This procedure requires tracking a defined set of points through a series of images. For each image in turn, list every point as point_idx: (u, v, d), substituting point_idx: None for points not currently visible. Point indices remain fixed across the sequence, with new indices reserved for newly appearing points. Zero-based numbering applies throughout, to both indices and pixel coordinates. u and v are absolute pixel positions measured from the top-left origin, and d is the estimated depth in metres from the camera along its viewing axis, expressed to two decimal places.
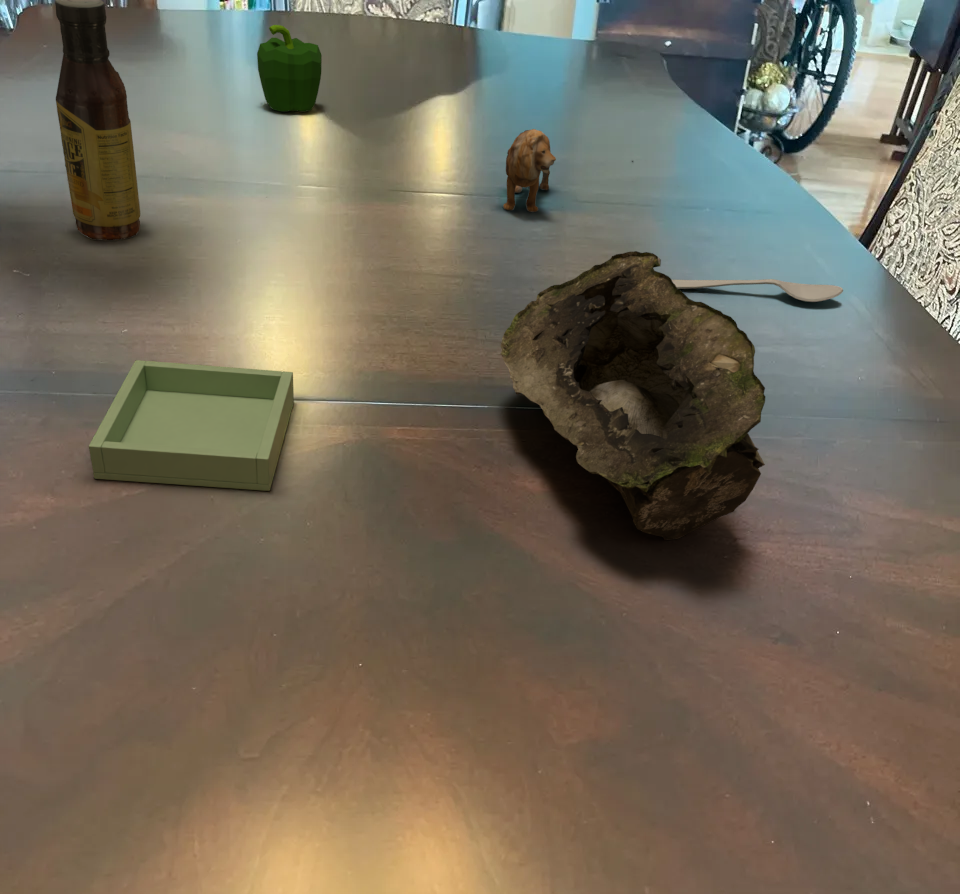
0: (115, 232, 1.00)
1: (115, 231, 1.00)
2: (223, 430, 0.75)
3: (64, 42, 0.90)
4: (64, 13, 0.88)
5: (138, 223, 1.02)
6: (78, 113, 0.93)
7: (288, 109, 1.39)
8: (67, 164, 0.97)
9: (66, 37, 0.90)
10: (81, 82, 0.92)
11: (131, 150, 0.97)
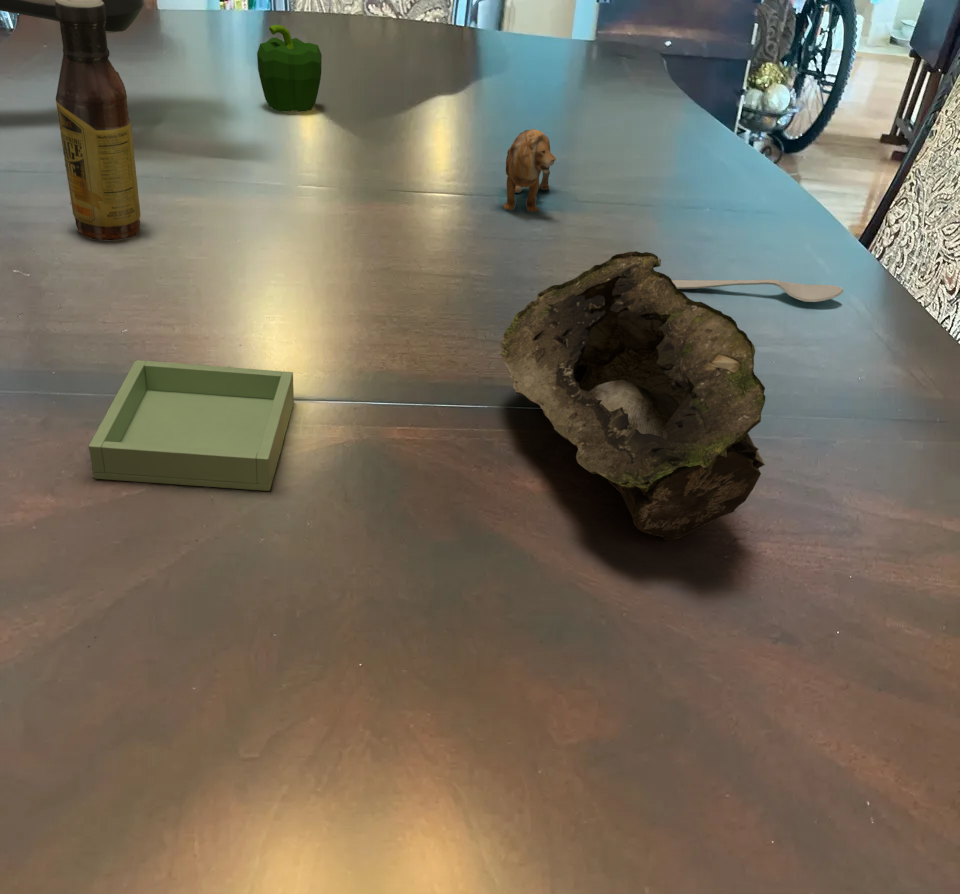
0: (115, 232, 1.00)
1: (115, 231, 1.00)
2: (223, 430, 0.75)
3: (64, 42, 0.90)
4: (64, 13, 0.88)
5: (138, 223, 1.02)
6: (78, 113, 0.93)
7: (288, 109, 1.39)
8: (67, 164, 0.97)
9: (66, 37, 0.90)
10: (81, 82, 0.92)
11: (131, 150, 0.97)
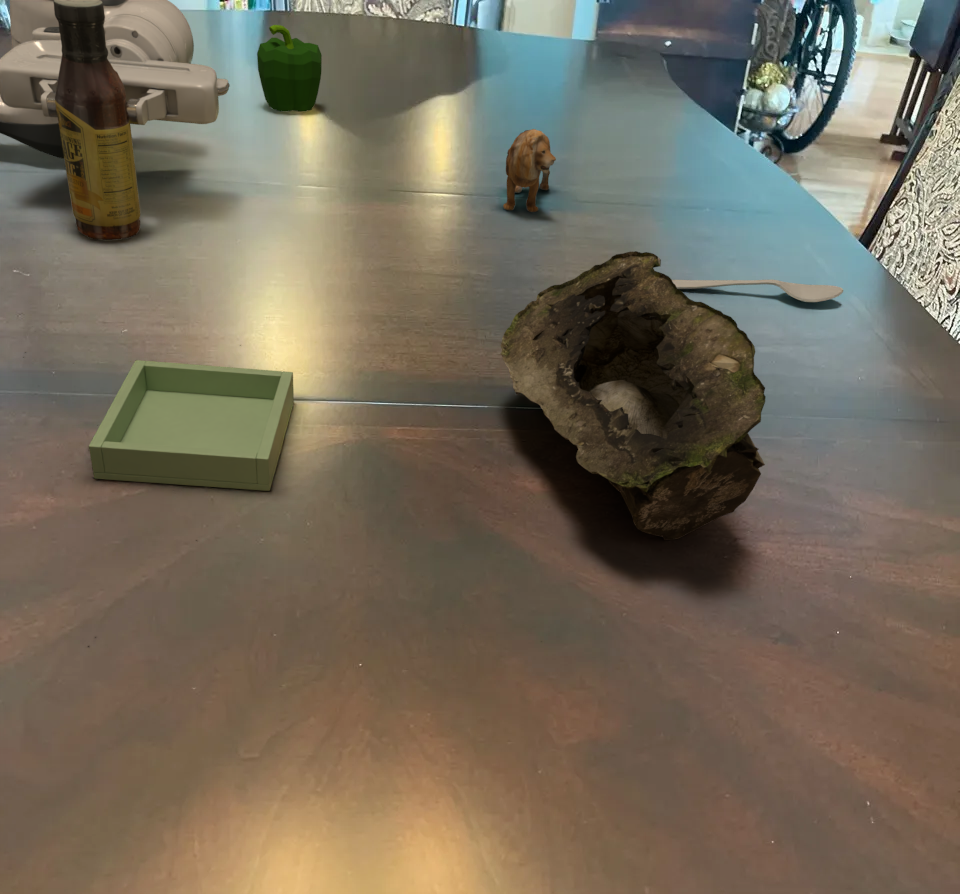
0: (116, 232, 1.00)
1: (115, 231, 1.00)
2: (223, 430, 0.75)
3: (63, 42, 0.90)
4: (62, 12, 0.88)
5: (138, 223, 1.02)
6: (78, 113, 0.93)
7: (288, 109, 1.39)
8: (67, 164, 0.97)
9: (65, 37, 0.90)
10: (80, 81, 0.92)
11: (131, 149, 0.97)
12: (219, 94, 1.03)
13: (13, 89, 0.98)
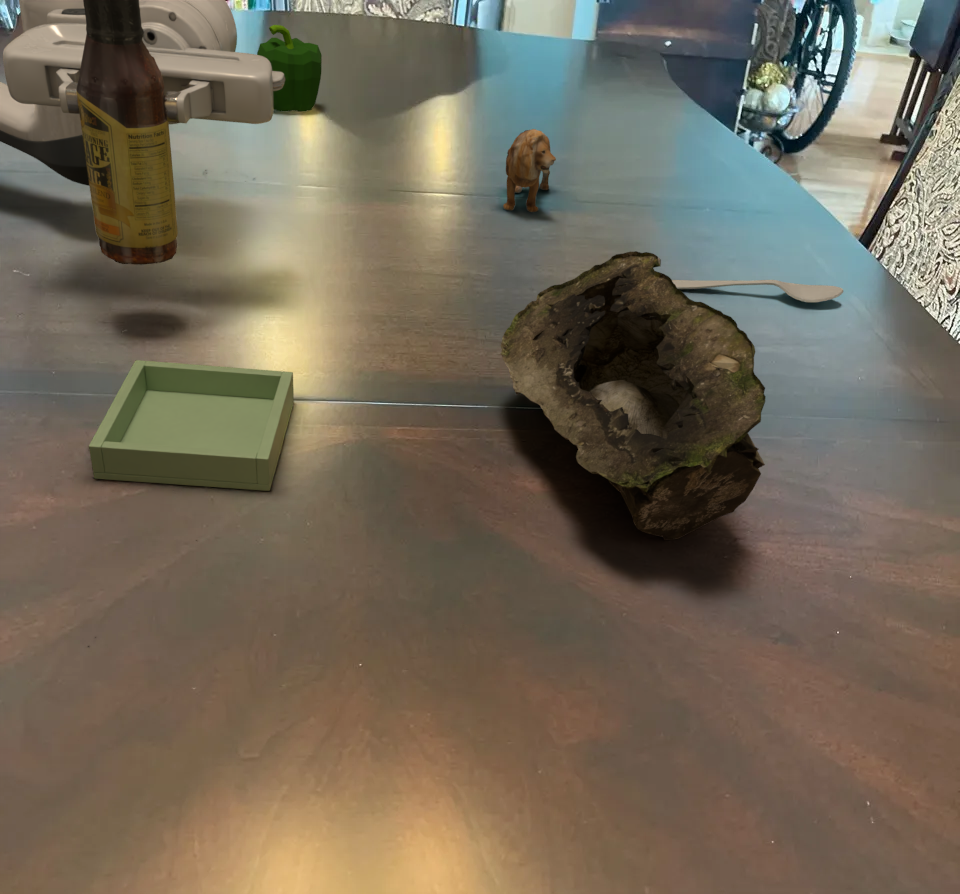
0: (148, 254, 0.81)
1: (148, 253, 0.81)
2: (223, 430, 0.75)
3: (88, 18, 0.72)
4: None
5: (175, 244, 0.84)
6: (105, 107, 0.74)
7: (288, 109, 1.39)
8: (90, 171, 0.78)
9: (91, 11, 0.72)
10: (109, 67, 0.73)
11: (168, 154, 0.79)
12: (274, 89, 0.85)
13: (24, 81, 0.80)
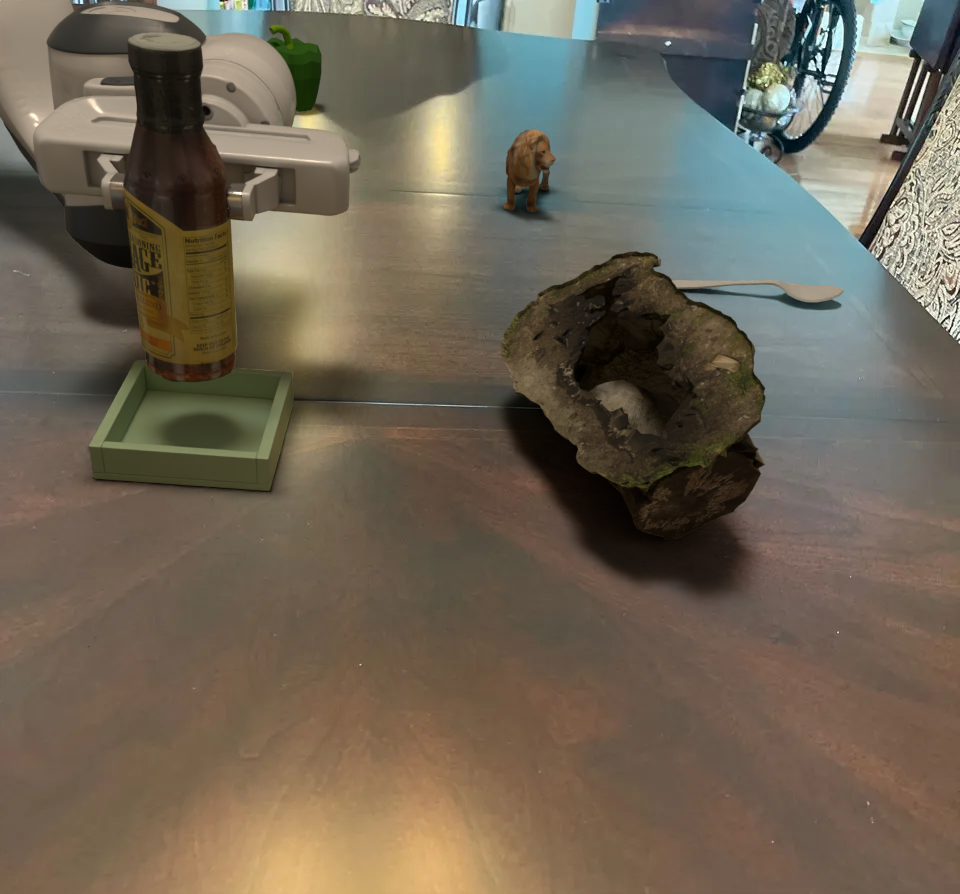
0: (204, 371, 0.69)
1: (203, 370, 0.69)
2: (223, 430, 0.75)
3: (140, 103, 0.60)
4: (142, 59, 0.58)
5: (234, 355, 0.71)
6: (158, 207, 0.62)
7: None
8: (137, 278, 0.66)
9: (143, 95, 0.59)
10: (164, 161, 0.61)
11: (230, 256, 0.66)
12: (349, 171, 0.72)
13: (58, 168, 0.67)
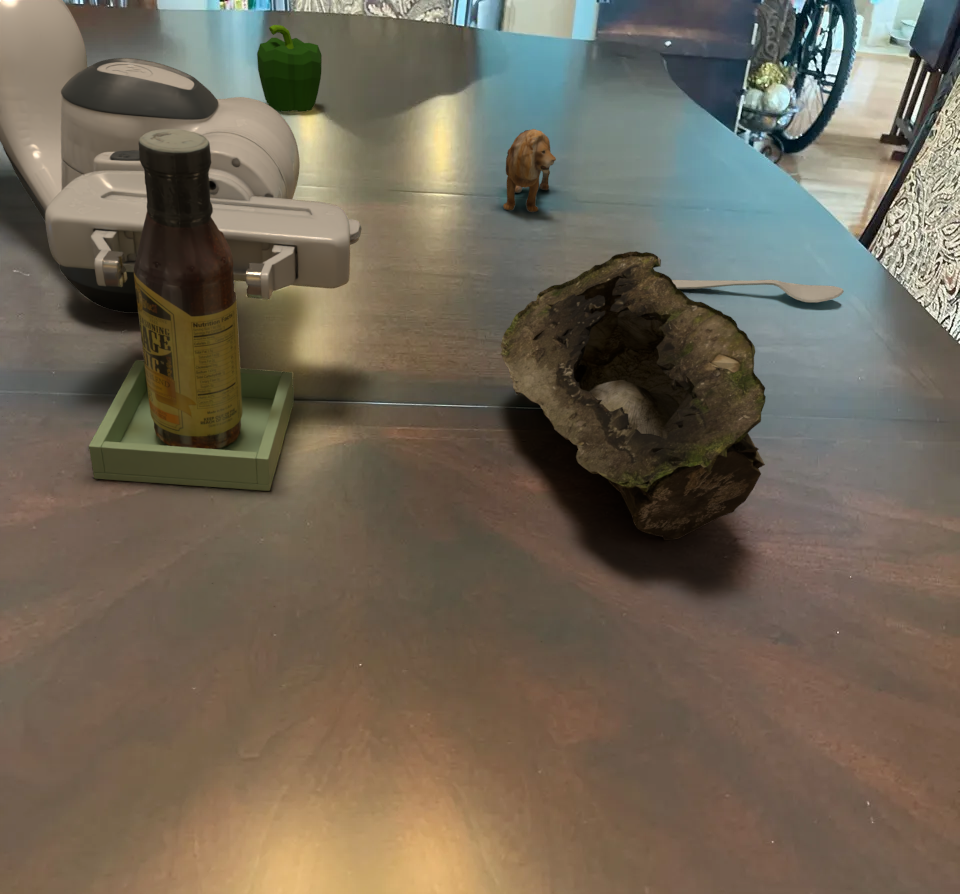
0: (210, 442, 0.72)
1: (210, 441, 0.72)
2: None
3: (150, 198, 0.62)
4: (153, 160, 0.60)
5: (239, 424, 0.74)
6: (168, 295, 0.64)
7: (288, 109, 1.39)
8: (147, 356, 0.68)
9: (154, 191, 0.62)
10: (174, 252, 0.63)
11: (236, 334, 0.69)
12: (350, 243, 0.75)
13: (69, 244, 0.70)
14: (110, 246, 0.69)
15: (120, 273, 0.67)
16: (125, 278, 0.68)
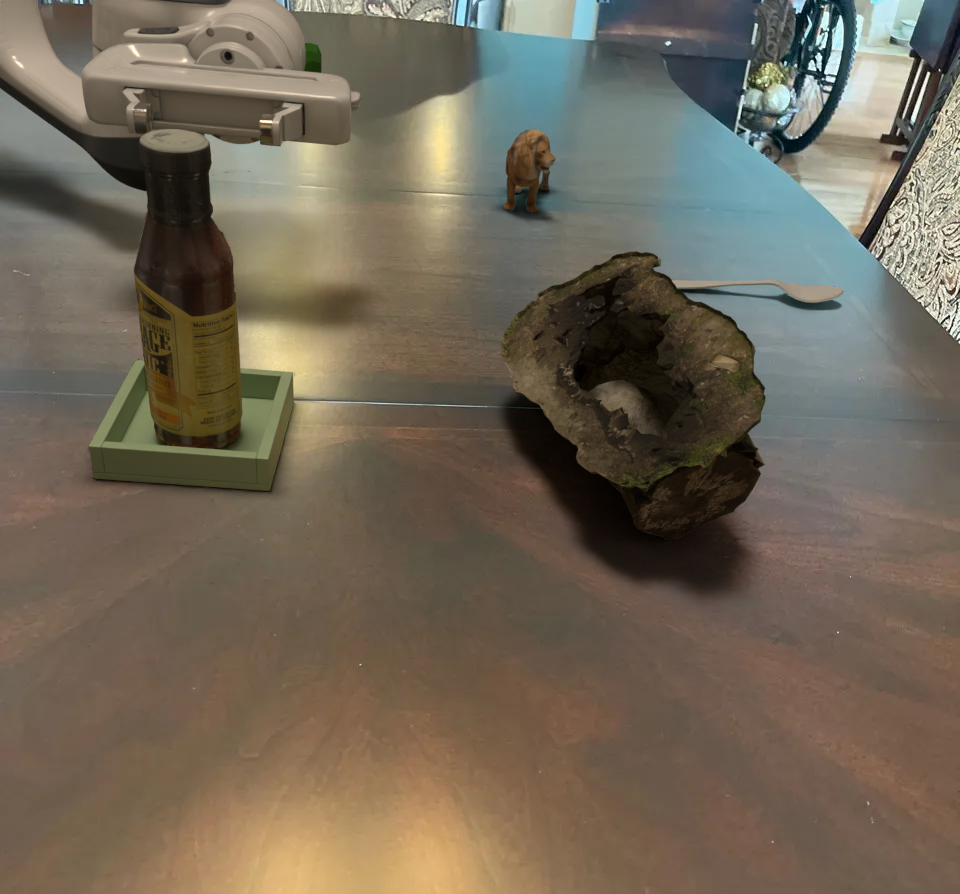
0: (211, 442, 0.72)
1: (210, 441, 0.72)
2: None
3: (150, 198, 0.62)
4: (153, 160, 0.60)
5: (239, 424, 0.74)
6: (168, 295, 0.64)
7: None
8: (147, 356, 0.68)
9: (154, 192, 0.62)
10: (174, 252, 0.63)
11: (236, 335, 0.69)
12: (351, 109, 0.84)
13: (102, 101, 0.79)
14: (139, 101, 0.78)
15: (148, 121, 0.76)
16: (152, 128, 0.77)
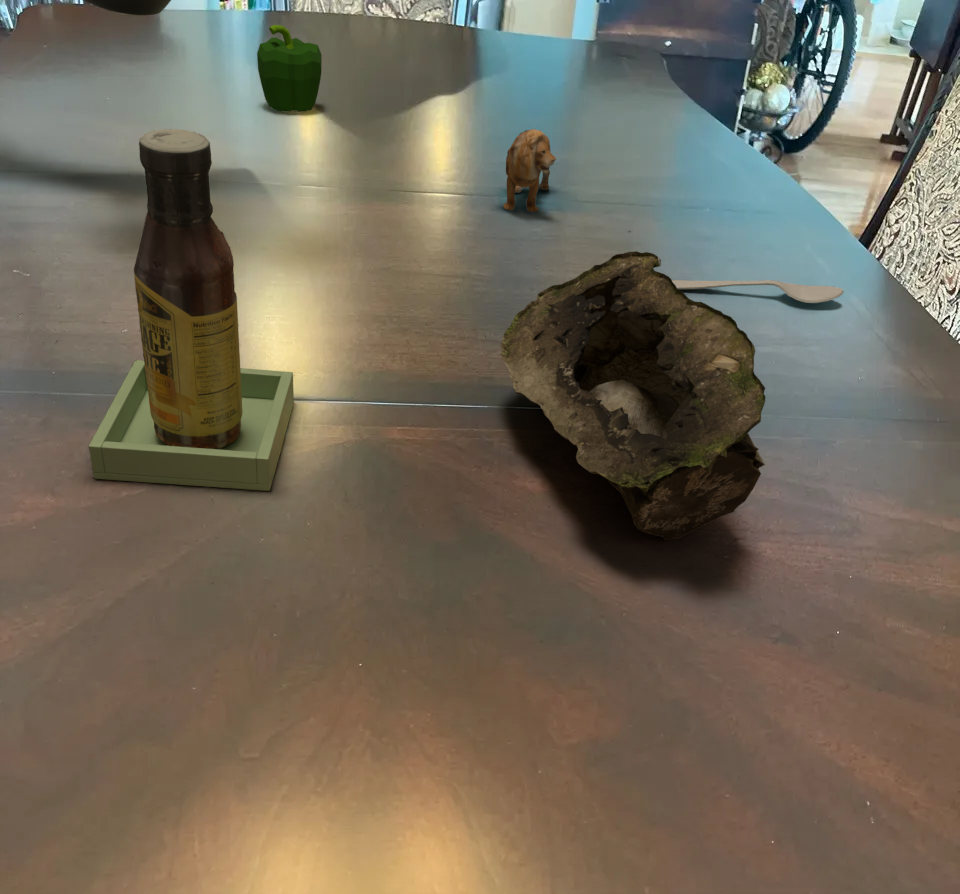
0: (211, 442, 0.72)
1: (210, 441, 0.72)
2: None
3: (150, 198, 0.62)
4: (153, 160, 0.60)
5: (239, 424, 0.74)
6: (168, 295, 0.64)
7: (288, 109, 1.39)
8: (147, 356, 0.68)
9: (154, 192, 0.62)
10: (174, 252, 0.63)
11: (236, 335, 0.69)
12: None
13: None
14: None
15: None
16: None
